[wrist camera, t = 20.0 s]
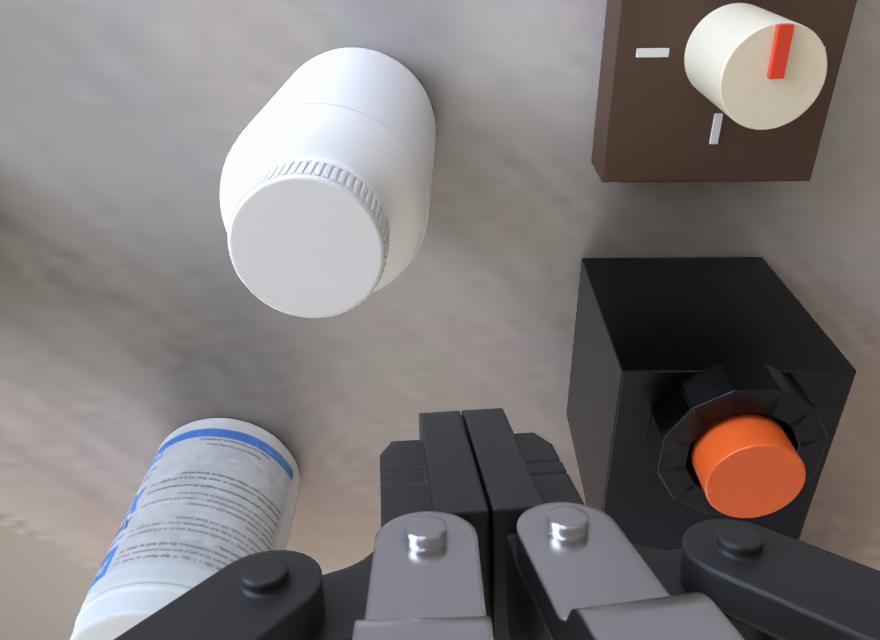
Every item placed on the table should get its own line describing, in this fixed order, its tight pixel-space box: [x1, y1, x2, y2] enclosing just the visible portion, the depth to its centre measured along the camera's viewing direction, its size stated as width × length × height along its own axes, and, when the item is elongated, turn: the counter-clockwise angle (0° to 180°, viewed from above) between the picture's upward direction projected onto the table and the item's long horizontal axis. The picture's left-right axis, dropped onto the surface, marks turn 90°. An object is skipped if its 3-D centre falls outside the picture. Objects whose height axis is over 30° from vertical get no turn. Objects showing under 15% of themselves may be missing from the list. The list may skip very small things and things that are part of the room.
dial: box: [684, 3, 827, 130], centre depth 30 cm, size 4×4×5 cm
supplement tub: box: [70, 418, 300, 640], centre depth 43 cm, size 10×10×15 cm
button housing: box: [567, 257, 856, 549], centre depth 38 cm, size 10×12×13 cm
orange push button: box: [691, 414, 806, 518], centre depth 30 cm, size 4×4×2 cm
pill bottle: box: [220, 47, 436, 318], centre depth 31 cm, size 8×8×15 cm
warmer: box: [592, 0, 857, 182], centre depth 33 cm, size 10×12×3 cm
